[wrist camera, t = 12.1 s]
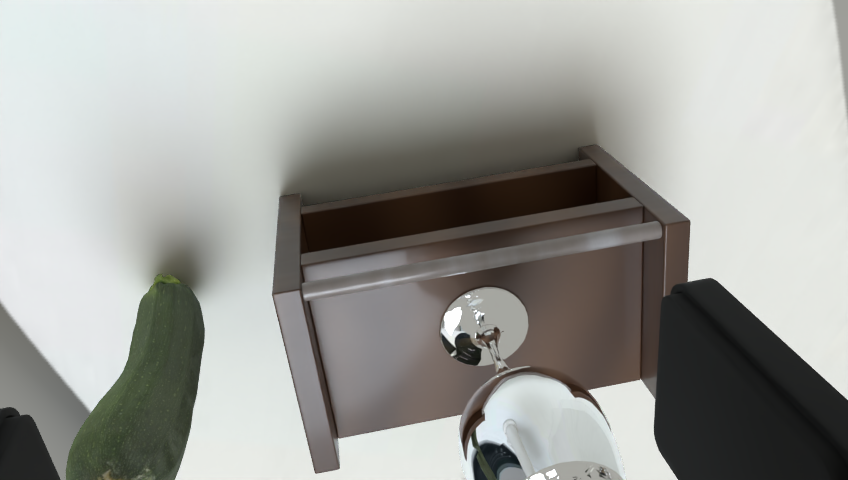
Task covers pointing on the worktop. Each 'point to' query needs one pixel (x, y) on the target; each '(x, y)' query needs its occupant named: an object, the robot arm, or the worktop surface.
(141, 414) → the vegetable
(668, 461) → the robot arm
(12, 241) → the worktop surface
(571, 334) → the rack
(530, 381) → the wineglass
